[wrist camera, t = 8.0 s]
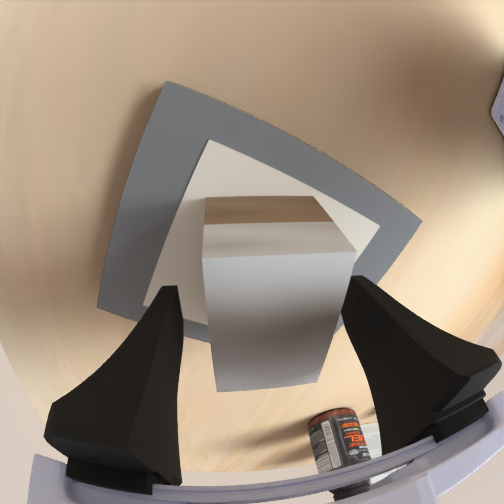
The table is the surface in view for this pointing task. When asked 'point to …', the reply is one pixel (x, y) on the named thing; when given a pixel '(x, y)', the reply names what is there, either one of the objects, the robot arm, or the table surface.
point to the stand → (227, 185)
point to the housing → (272, 288)
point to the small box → (374, 446)
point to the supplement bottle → (339, 447)
